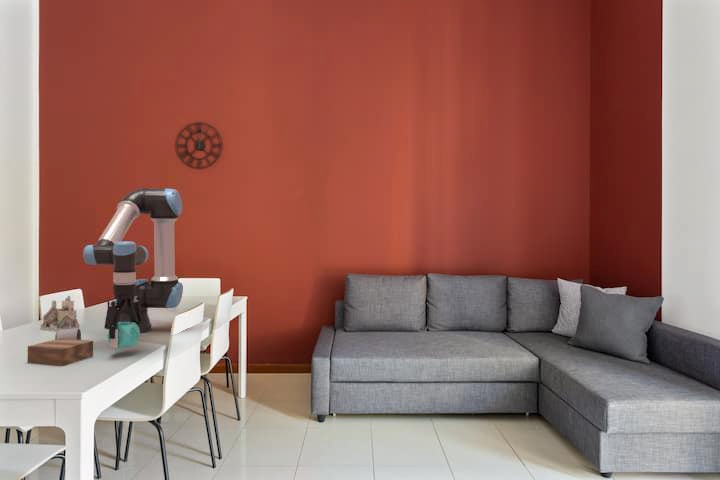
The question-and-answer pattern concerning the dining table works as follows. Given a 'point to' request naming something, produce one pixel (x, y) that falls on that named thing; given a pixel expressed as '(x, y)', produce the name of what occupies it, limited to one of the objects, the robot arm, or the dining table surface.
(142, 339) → the dining table surface
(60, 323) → the ceramic cottage
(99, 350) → the dining table surface
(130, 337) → the decorative dice
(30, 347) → the walnut block
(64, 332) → the ceramic mug
